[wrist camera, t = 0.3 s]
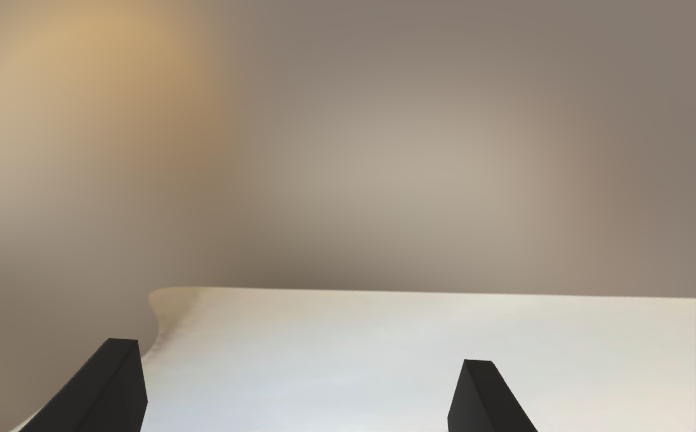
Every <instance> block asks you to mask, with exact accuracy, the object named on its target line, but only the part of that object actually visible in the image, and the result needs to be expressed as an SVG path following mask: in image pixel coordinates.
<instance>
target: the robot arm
mask: <svg viewBox="0 0 696 432" xmlns="http://www.w3.org/2000/svg"><path fill="white" fill-rule="evenodd" d="M147 403H148V400H147V394H146V388H145V382H144V376H143V370H142V364H141V358H140V352H139V346H138V340H130V339H114V338H109V339H107V340H106V341H105V342H104V343H103V344H102V345H101V346H100V347H99V348H98V350H97V351H96V352H95V353H94V354H93V355H92V356H91V357H90V358H89V359H88V361H87V362H86V363H85V364H84V365H83V366H82V367H81V368H80V370H78V372H77V373H76V374H75V375H74V376H73V377H72V378H71V379H70V380H69V381H68V382H67V383H66V384H65V385H64V386H63V388H62V389H61V390H60V391H59V392H58V393H57V394H56V395H55V396H54V397H53V398H52V399H51V400H50V401H49V402H48V403H47V404H46V405H45V406H44V407H43V408H42V409H41V410H40V411H39V412H38V413H37V414H36V415H35V416H34V417H33V418H32V419H31V420H30V421H29V422H28V423H27V424H26V425H25V426H24V427H23V428H22V429H21V430H20V431H19V432H140V430H141V426H142V422H143V419H144V415H145V411H146V407H147ZM447 419H448V430H449V432H538V431H537V430H536V428H535V427H534V425H533V424H532V422H531V421H530V419H529V418H528V416H527V415H526V413H525V412H524V410H523V409H522V407H521V406H520V404H519V403H518V401H517V400H516V398H515V397H514V395H513V393H512V392H511V390H510V389H509V387H508V386H507V384H506V382H505V381H504V379H503V378H502V376H501V374H500V373H499V371H498V369H497V368H496V366H495V365H494V364H493V362H492V361H484V360H467V359H464V362H463V366H462V369H461V373H460V376H459V380H458V383H457V387H456V390H455V393H454V397H453V400H452V404H451V407H450V411H449V414H448V418H447Z"/></svg>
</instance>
